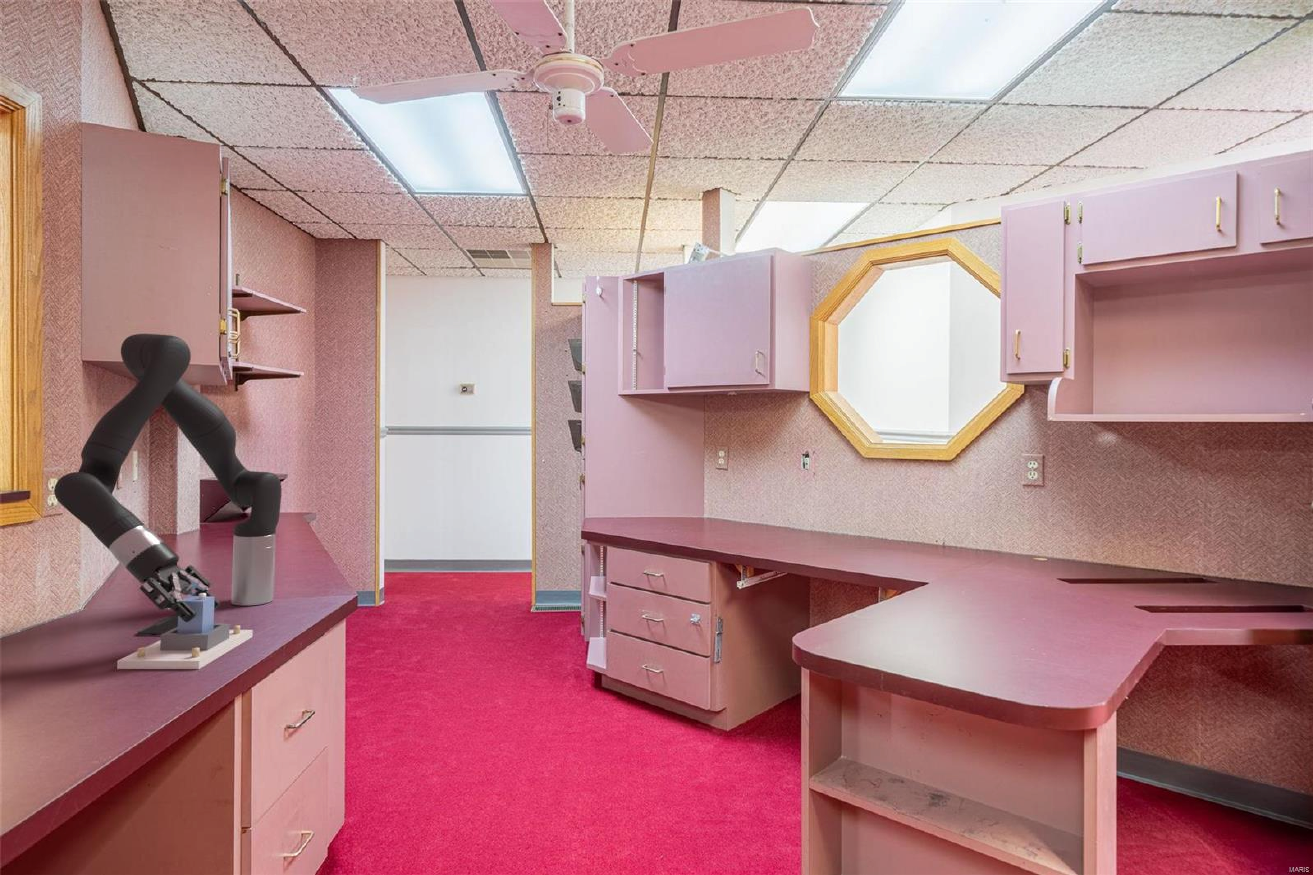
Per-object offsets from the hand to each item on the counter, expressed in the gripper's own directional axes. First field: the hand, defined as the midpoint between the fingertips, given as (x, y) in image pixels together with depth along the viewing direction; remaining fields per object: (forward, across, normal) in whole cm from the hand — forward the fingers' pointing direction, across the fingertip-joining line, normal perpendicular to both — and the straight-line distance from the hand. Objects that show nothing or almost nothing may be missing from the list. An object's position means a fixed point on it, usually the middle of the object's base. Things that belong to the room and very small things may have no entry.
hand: (204, 613), depth 134 cm
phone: (-5, +18, +17) cm, 25 cm away
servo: (+3, 0, +5) cm, 6 cm away
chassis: (+4, 0, +7) cm, 8 cm away
